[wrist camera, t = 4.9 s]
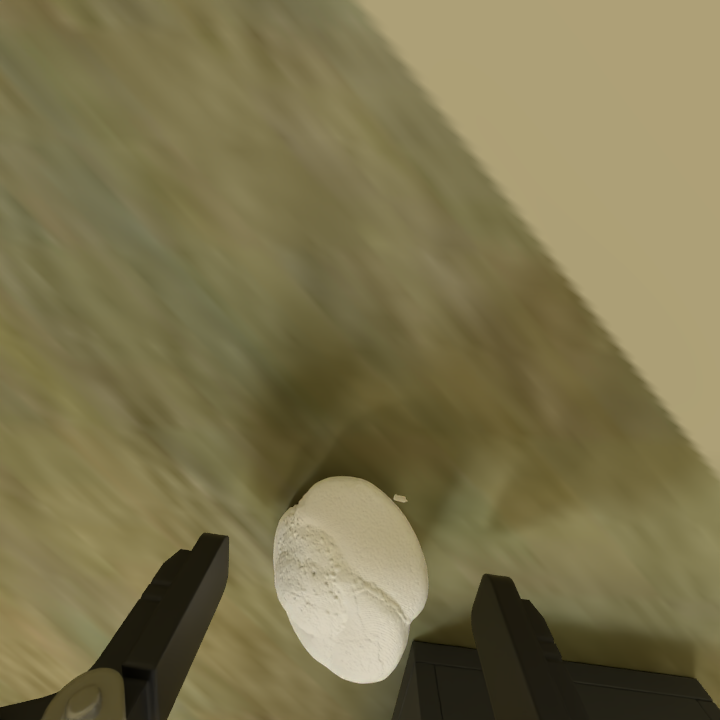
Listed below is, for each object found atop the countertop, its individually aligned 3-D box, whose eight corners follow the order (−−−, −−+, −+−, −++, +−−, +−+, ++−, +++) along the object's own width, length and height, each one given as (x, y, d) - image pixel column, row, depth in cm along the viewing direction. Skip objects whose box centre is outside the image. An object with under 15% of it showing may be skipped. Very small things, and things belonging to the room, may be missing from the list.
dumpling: (383, 596, 15) (356, 718, 11) (276, 535, 15) (218, 634, 11) (468, 491, 11) (469, 616, 8) (329, 417, 12) (271, 504, 8)
